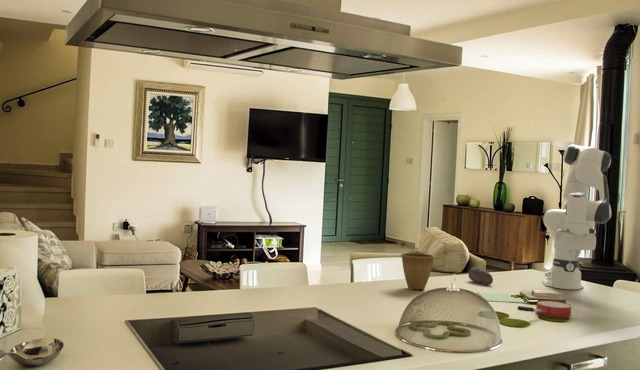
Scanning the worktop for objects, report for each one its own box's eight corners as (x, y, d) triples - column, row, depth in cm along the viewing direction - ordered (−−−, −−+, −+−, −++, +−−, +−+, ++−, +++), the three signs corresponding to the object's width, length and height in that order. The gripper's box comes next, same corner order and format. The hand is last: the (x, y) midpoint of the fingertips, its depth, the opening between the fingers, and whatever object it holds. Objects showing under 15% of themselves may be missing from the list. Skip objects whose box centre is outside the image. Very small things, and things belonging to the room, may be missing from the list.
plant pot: (438, 289, 291) (439, 255, 290) (421, 293, 280) (422, 258, 279) (411, 284, 301) (413, 251, 300) (393, 288, 290) (395, 253, 289)
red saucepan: (541, 328, 227) (542, 310, 227) (508, 320, 236) (509, 304, 236) (575, 315, 250) (576, 299, 250) (544, 309, 259) (545, 294, 259)
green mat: (477, 292, 288) (477, 292, 288) (517, 294, 287) (517, 294, 287) (486, 301, 270) (486, 300, 270) (529, 303, 269) (529, 302, 269)
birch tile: (531, 293, 281) (531, 289, 281) (553, 294, 281) (553, 290, 281) (535, 296, 275) (535, 292, 275) (558, 297, 275) (558, 293, 275)
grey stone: (495, 286, 308) (496, 272, 308) (487, 286, 305) (488, 272, 305) (475, 280, 321) (475, 267, 321) (467, 280, 319) (468, 267, 319)
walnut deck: (519, 295, 285) (519, 291, 285) (554, 297, 285) (555, 293, 285) (529, 302, 271) (529, 297, 271) (566, 304, 271) (566, 299, 271)
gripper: (561, 229, 270) (559, 261, 271) (599, 230, 277) (597, 261, 277) (551, 228, 276) (550, 258, 277) (588, 228, 283) (587, 258, 283)
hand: (574, 260), depth 277 cm, fingers closed
